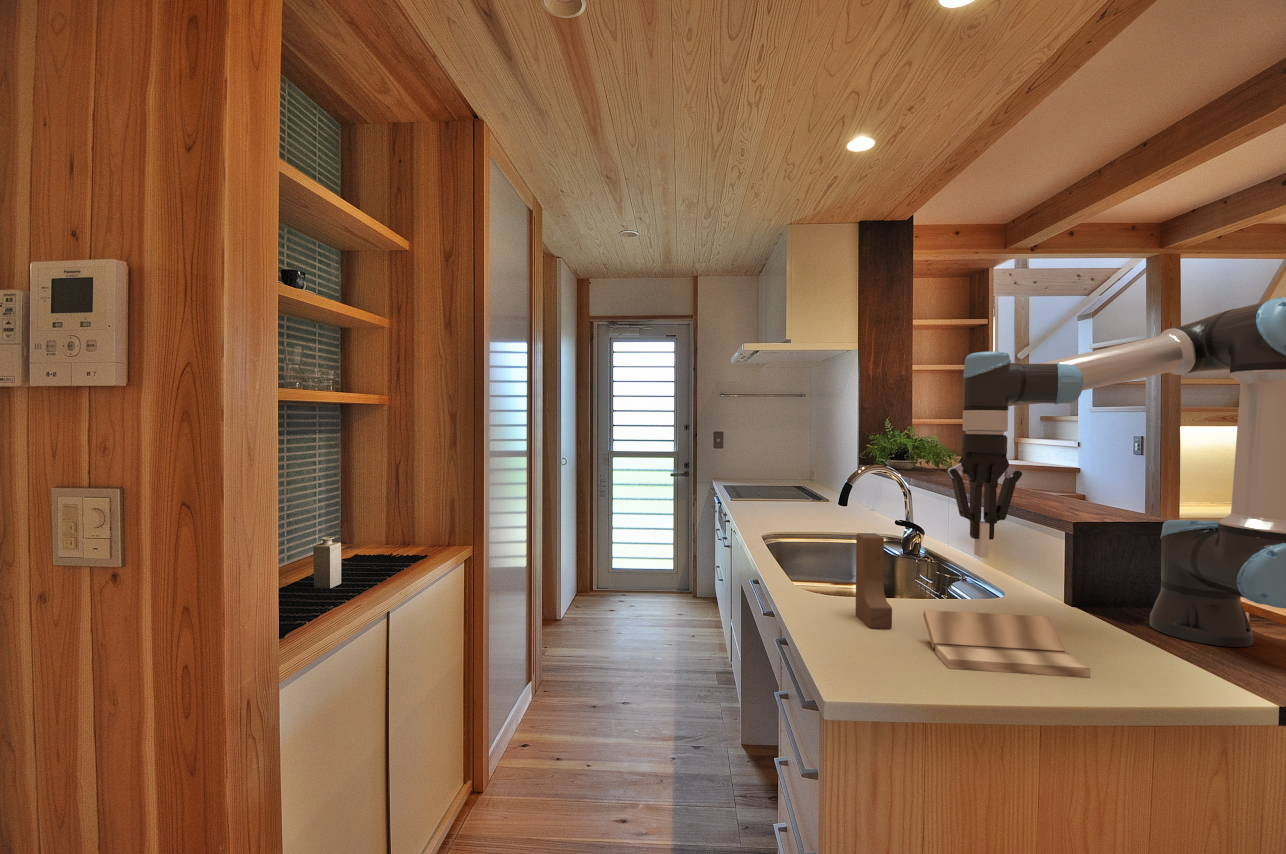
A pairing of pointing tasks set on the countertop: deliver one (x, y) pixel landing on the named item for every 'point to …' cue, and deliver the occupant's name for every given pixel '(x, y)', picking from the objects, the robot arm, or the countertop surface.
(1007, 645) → the board
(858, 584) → the wooden block
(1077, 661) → the laid board
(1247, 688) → the countertop surface
